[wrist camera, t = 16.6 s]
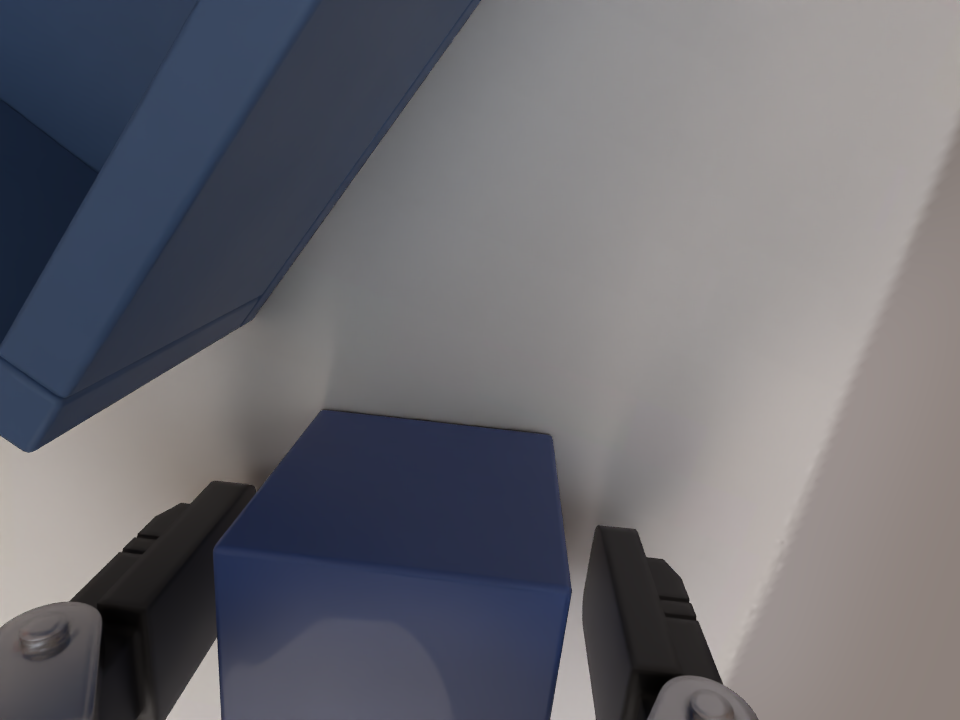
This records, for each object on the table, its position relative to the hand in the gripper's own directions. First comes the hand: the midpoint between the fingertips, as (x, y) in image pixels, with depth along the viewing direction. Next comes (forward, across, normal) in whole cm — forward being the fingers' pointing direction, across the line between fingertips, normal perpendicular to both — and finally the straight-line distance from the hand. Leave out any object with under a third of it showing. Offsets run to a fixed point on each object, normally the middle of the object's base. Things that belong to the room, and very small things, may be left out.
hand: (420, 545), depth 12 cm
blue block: (+1, 0, 0) cm, 1 cm away
